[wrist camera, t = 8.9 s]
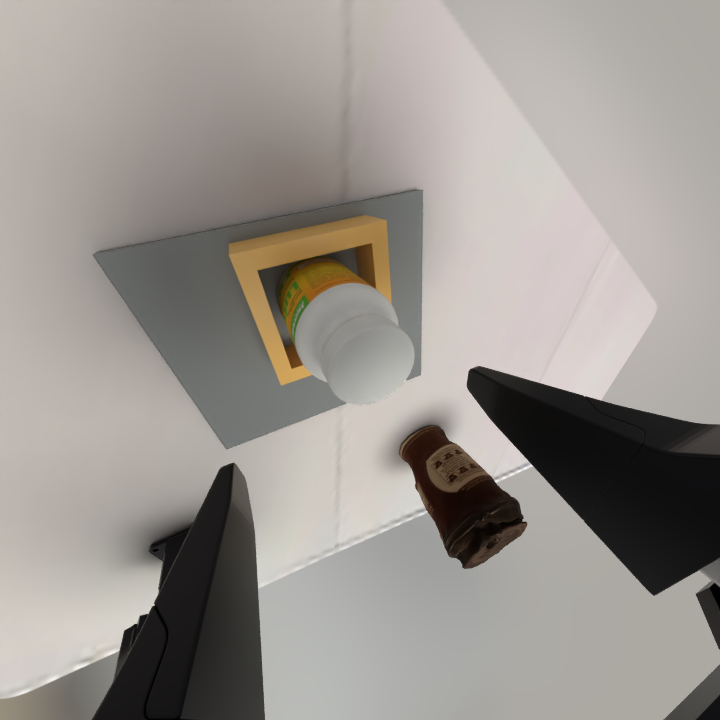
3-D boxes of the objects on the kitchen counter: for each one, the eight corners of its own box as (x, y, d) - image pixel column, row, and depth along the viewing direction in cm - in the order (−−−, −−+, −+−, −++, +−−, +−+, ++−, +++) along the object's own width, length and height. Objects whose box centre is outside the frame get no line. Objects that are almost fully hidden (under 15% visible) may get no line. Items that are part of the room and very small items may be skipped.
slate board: (417, 371, 28) (420, 374, 27) (226, 444, 23) (226, 449, 23) (418, 189, 18) (422, 190, 18) (97, 252, 14) (92, 255, 13)
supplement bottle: (270, 256, 17) (304, 319, 9) (352, 251, 18) (439, 300, 11) (282, 334, 19) (316, 431, 12) (352, 323, 21) (420, 402, 14)
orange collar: (377, 329, 22) (394, 346, 20) (275, 362, 20) (281, 385, 18) (365, 214, 17) (386, 220, 15) (228, 243, 15) (228, 255, 13)
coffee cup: (398, 424, 31) (478, 540, 21) (455, 410, 34) (549, 505, 24) (387, 472, 36) (450, 586, 26) (439, 456, 39) (512, 552, 29)
